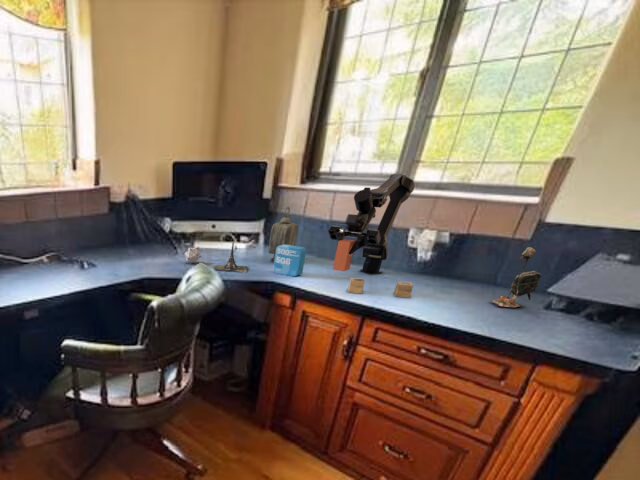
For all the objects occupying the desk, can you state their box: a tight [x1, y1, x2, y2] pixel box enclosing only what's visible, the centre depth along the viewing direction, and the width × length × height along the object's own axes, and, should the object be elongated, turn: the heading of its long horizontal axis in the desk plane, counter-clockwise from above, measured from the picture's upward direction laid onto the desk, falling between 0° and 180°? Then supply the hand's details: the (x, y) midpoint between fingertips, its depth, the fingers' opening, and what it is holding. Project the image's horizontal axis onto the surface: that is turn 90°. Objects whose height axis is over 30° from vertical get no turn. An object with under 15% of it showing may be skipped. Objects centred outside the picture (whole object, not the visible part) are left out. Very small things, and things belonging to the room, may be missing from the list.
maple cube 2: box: [393, 280, 414, 299], centre depth 157 cm, size 5×5×5 cm
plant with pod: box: [491, 246, 542, 308], centre depth 141 cm, size 8×11×20 cm
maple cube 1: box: [347, 277, 365, 294], centre depth 162 cm, size 5×5×5 cm
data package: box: [272, 245, 307, 277], centre depth 186 cm, size 12×4×12 cm, turn 42°
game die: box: [182, 246, 202, 265], centre depth 209 cm, size 9×8×10 cm
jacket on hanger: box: [268, 206, 299, 262], centre depth 206 cm, size 14×9×25 cm, turn 144°
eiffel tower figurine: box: [213, 241, 249, 274], centre depth 196 cm, size 15×10×13 cm
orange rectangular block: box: [332, 238, 356, 272], centre depth 165 cm, size 5×5×11 cm
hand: (343, 253), depth 164 cm, fingers closed on orange rectangular block, 5 cm apart
